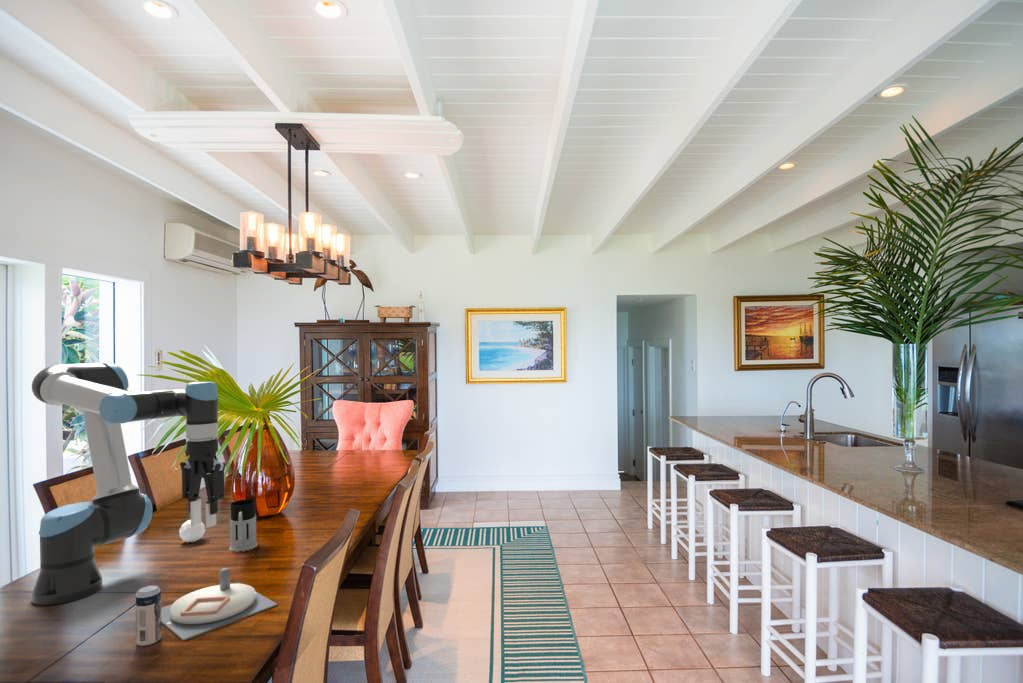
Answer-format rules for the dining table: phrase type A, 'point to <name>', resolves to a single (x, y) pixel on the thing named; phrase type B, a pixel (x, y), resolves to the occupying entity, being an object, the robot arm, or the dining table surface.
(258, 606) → the plate
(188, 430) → the robot arm
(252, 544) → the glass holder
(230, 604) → the turntable
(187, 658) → the dining table surface
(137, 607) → the blue and white canister
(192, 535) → the geometric ball
